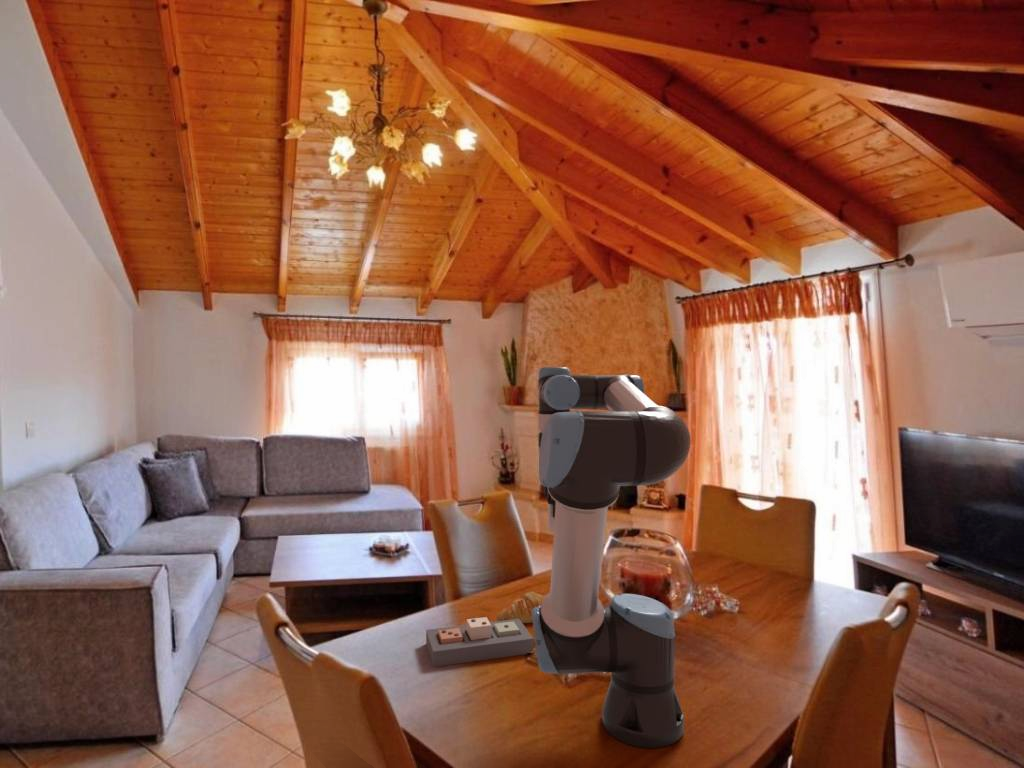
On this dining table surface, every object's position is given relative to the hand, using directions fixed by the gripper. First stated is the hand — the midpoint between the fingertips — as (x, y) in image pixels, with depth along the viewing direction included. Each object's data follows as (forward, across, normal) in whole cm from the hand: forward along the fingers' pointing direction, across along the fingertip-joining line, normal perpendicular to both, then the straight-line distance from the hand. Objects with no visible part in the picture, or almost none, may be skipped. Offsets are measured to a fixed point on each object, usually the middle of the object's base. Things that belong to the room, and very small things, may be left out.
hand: (554, 529), depth 140 cm
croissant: (+30, +22, -1) cm, 37 cm away
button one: (+28, +7, +10) cm, 30 cm away
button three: (+28, +7, +24) cm, 37 cm away
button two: (+26, +7, +17) cm, 32 cm away
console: (+29, +7, +17) cm, 35 cm away
